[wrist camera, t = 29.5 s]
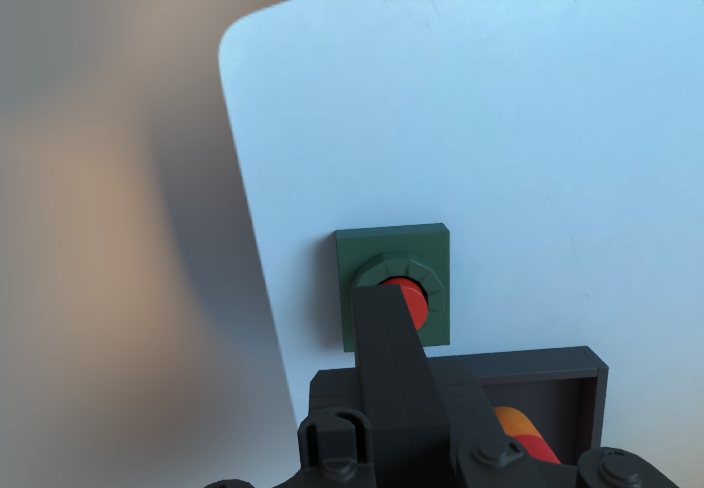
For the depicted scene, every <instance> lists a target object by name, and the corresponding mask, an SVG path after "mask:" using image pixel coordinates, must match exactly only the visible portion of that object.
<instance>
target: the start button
mask: <svg viewBox="0 0 704 488" xmlns="http://www.w3.org/2000/svg"><path fill="white" fill-rule="evenodd" d="M386 284H400V286H401V289H402V292H403V294H404V297H405V300H406V303H407V305H408V308H409V311H410V314H411V317H412V319H413V322H414V325H415V328H416V330H418V329H419V328H420V327H421V326H422V325H423V323H424V322H425V320H426V317H427V311H428V309H427V303H426V301H425V299H424V296H423V294H422V292H421V290H420V288H419V287H418V286H417V285H416V284H415V283H414V282H412V281H410V280H408V279H405V278H393V279H389V280H387V281H385V282H383V283H382V284H381V285H386Z"/></svg>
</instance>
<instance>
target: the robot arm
mask: <svg viewBox="0 0 704 488" xmlns="http://www.w3.org/2000/svg"><path fill="white" fill-rule="evenodd" d="M351 302H352V318H353V334H354V351H355V366H356V367H355V368H342V369H329V370H319V371H318V372H317V374H316V375H315V377H314V378H313V379H312V381H311V382H310V393H309V412H308V416H307V417H306V418H305V419H304V420H303V421H302V422H301V424H300V426H299V429H298V432H297V434H298V443H299V453H300V462H301V469H300V470H299V471H298V472H297V473H296V474H295V475H294V476H293V477H292V478H290V479H289V480H287V481H286V482H284V483H282V484H280V485H277V486H275V487H273V488H679V487H678V486H677V485H675V484H674V483H673V482H672V481H671V480H669V479H668V478H667V477H666V476H665V475H663V474H662V473H661V472H660V471H659V470H657V469H656V468H655V467H654V466H652V465H651V464H650V463H648V462H647V461H645V460H644V459H642V458H641V457H639V456H637V455H635V454H633V453H630V452H627V451H625V450H622V449H617V448H610V447H599V448H592V449H590V450H588V451H586V452H584V453H582V455H581V457H580V459H579V460H578V464H577V466H571V465H565V464H558V463H552V462H548V461H543V460H539V459H537V458H534V457H532V456H530V454H529V452H528V451H527V449H526V448H525V447H524V446H523V445H522V443H521V442H519V441H518V440H516V439H515V438H513V437H511V436H510V435H507V434H506V433H505V431H504V429H503V427H502V425H501V423H500V421H499V419H498V417H497V415H496V414H495V412H494V410H493V408H492V406H491V404H490V402H489V400H488V398H487V396H486V395H485V392H484V390H483V388H482V386H481V384H480V383H479V380H478V378H477V376H476V374H475V372H474V370H473V369H472V368H471V367H470V366H468V365H467V364H466V363H464V362H463V361H462V360H461V359H459V358H455V359H442V360H429V361H427V358H426V355H425V352H424V350H423V347H422V344H421V341H420V339H419V336H418V333H417V330H416V328H415V325H414V322H413V319H412V317H411V314H410V311H409V308H408V305H407V303H406V300H405V297H404V294H403V292H402V289H401V286H400V284H386V285H372V286H358V287H351ZM204 488H255V487H253V486H252V485H251V484H250V483H248V482H245V481H241V480H238V479H233V480H232V479H231V480H221V481H218V482H215V483H212V484H209V485H207V486H206V487H204Z"/></svg>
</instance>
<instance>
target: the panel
mask: <svg viewBox="0 0 704 488" xmlns="http://www.w3.org/2000/svg"><path fill="white" fill-rule="evenodd" d="M336 246H337V260H338V274H339V288H340V302H341V315H342V329H343V343H344V352H355V351H354V334H353V318H352V302H351V287H358V286H372V285H381V284H382V283H383V282H385V281H387V280H389V279H393V278H405V279H408V280H410V281H412V282H414V283H415V284H416V285H417V286H418V287H419V288H420V290H421V292H422V294H423V296H424V299H425V301H426V303H427V309H428V311H427V317H426V320H425V322H424V323H423V325H422V326H421V327H420V328H419V329H418V330H417V333H418V336H419V339H420V341H421V344H422V347H426V346H440V345H449V344H450V231H449V230H448V229H447V228H446V226H445V225H444V224H443V223H435V224H421V225H406V226H391V227H377V228H362V229H347V230H336Z"/></svg>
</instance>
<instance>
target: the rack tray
mask: <svg viewBox="0 0 704 488" xmlns="http://www.w3.org/2000/svg"><path fill="white" fill-rule="evenodd" d="M455 358H459V359H461V360H462V361H463V362H464V363H466V364H467V365H468V366H470V367H471V368H472V369H473V370H474V372H475V374H476V376H477V378H478V380H479V383H480V384H481V386H482V388H483V390H484V392H485V395H486V396H487V398H488V400H489V402H490V404H491V406H492V408H494V407H511V408H514V409H517V410H519V411H520V412H522V413H523V414H524V415H525V416H526V417H527V418H528V419H529V420H530V422H531V423H532V424H533V426H534V427H535V428H536V430H537V431H538V432H539V434H540V435H541V436H542V438H543V439H544V440H545V442H546V443H547V445H548V446H549V447H550V449H551V450H552V452H553V453H554V454H555V456H556V457H557V459H558V460H559V461H560V463H561V464H565V465H571V466H577V464H578V460H579V459H580V457H581V455H582V453H584V452H586V451H588V450H590V449H592V448H599V447H600V445H601V435H602V426H603V417H604V407H605V398H606V388H607V379H608V370H609V367H608V366H607V365H606V364H605V363H604V362H603V361H602V360H601V359H600V358H599V357H598V356H597V355H596V354H595V353H594V352H593V351H592V350H591V349H590V348H589V347H588V346H580V347H566V348H553V349H539V350H526V351H512V352H499V353H485V354H471V355H458V356H444V357H431V358H427V361H429V360H442V359H455Z"/></svg>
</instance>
